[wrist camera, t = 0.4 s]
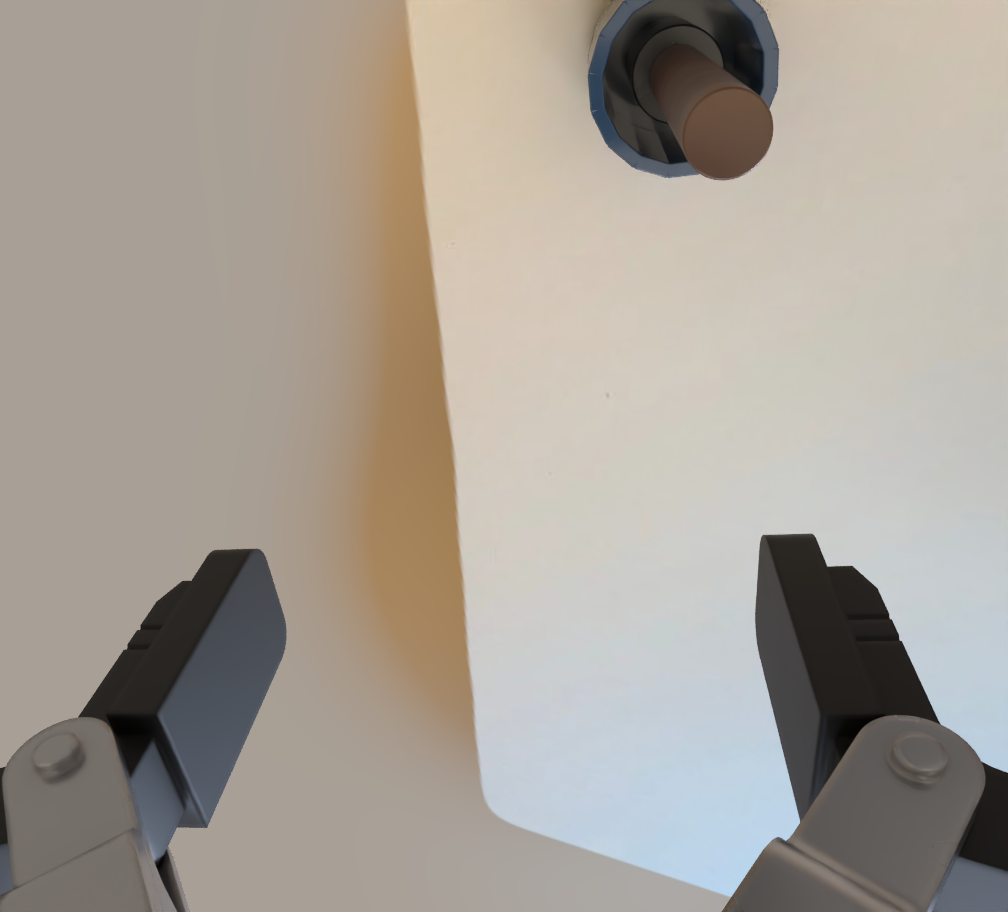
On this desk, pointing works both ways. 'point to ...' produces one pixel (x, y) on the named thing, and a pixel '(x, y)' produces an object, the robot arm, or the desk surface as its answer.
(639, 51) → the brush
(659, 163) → the brush cup
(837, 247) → the desk surface
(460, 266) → the desk surface
